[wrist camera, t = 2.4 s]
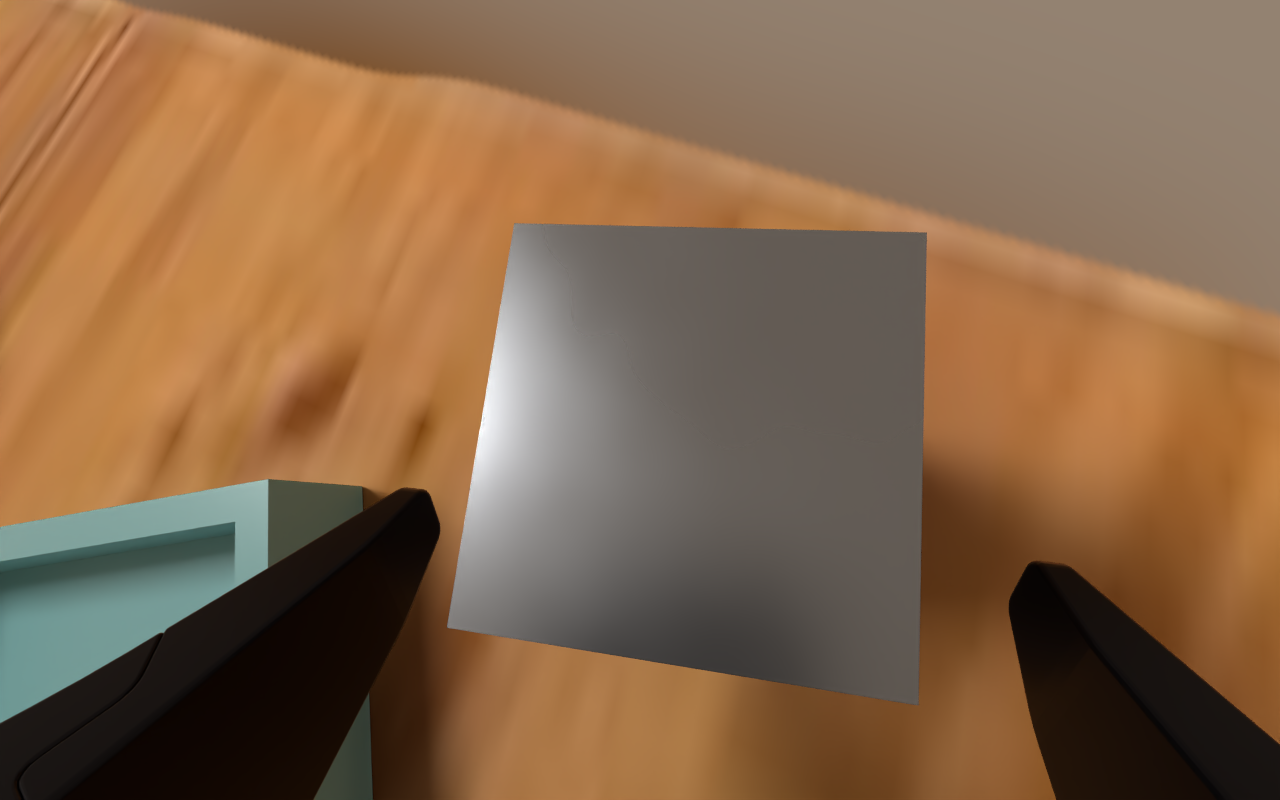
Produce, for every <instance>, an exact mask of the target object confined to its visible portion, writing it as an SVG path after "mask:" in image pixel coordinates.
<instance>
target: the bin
mask: <svg viewBox="0 0 1280 800" xmlns="http://www.w3.org/2000/svg"><path fill="white" fill-rule="evenodd" d="M362 511H363V495H362V486H350V485H337V484H324V483H311V482H298V481H285V480H272V479H267V480H261V481H255V482H250V483H244V484H239V485H233V486H227V487H222V488H216V489H211V490H205V491H199V492H194V493H188V494H183V495H177V496H171V497H166V498H160V499H155V500H149V501H143V502H138V503H132V504H127V505H121V506H115V507H110V508H104V509H99V510H93V511H87V512H82V513H76V514H71V515H65V516H59V517H54V518H48V519H43V520H37V521H31V522H26V523H20V524H15V525H9V526H3V527H0V723H1V722H3V721H5V720H7V719H9V718H11V717H12V716H14V715H16V714H18V713H20V712H22V711H24V710H25V709H27V708H29V707H31V706H33V705H35V704H36V703H38V702H40V701H42V700H44V699H46V698H47V697H49V696H51V695H53V694H55V693H56V692H58V691H60V690H62V689H64V688H66V687H67V686H69V685H71V684H73V683H75V682H76V681H78V680H80V679H82V678H84V677H85V676H87V675H89V674H90V673H92V672H94V671H96V670H97V669H99V668H101V667H103V666H104V665H106V664H108V663H109V662H111V661H113V660H115V659H116V658H118V657H120V656H121V655H123V654H125V653H127V652H128V651H130V650H132V649H133V648H135V647H137V646H138V645H140V644H142V643H143V642H145V641H147V640H148V639H150V638H152V637H153V636H155V635H157V634H158V633H164V632H165V630H166V629H167V628H168V627H170V626H172V625H173V624H175V623H177V622H178V621H180V620H182V619H183V618H185V617H187V616H188V615H190V614H192V613H193V612H195V611H197V610H198V609H200V608H202V607H203V606H205V605H207V604H208V603H210V602H212V601H213V600H215V599H217V598H218V597H220V596H222V595H223V594H225V593H227V592H228V591H230V590H232V589H233V588H235V587H237V586H238V585H240V584H242V583H243V582H245V581H247V580H248V579H250V578H252V577H253V576H255V575H257V574H258V573H260V572H262V571H263V570H265V569H267V568H268V567H270V566H272V565H273V564H275V563H277V562H278V561H280V560H282V559H283V558H285V557H287V556H288V555H290V554H292V553H293V552H295V551H297V550H298V549H300V548H302V547H303V546H305V545H307V544H308V543H310V542H312V541H313V540H315V539H317V538H318V537H320V536H322V535H323V534H325V533H327V532H328V531H330V530H332V529H333V528H335V527H337V526H338V525H340V524H342V523H343V522H345V521H347V520H348V519H350V518H352V517H353V516H355V515H357V514H358V513H360V512H362ZM314 800H373V792H372V762H371V733H370V703H369V694H368V696H367V698H366V700H365V701H364V703H363V705H362V707H361V709H360V711H359V713H358V715H357V717H356V719H355V721H354V723H353V725H352V727H351V729H350V730H349V732H348V734H347V736H346V738H345V740H344V742H343V744H342V746H341V748H340V750H339V752H338V754H337V756H336V758H335V759H334V761H333V763H332V765H331V767H330V769H329V771H328V773H327V775H326V777H325V779H324V781H323V783H322V785H321V787H320V788H319V790H318V792H317V794H316V796H315V798H314Z"/></svg>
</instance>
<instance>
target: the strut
mask: <svg viewBox="0 0 1280 800" xmlns="http://www.w3.org/2000/svg"><path fill="white" fill-rule="evenodd" d="M926 244H927V233H919V232H875V231H830V230H786V229H741V228H696V227H652V226H607V225H562V224H518V223H514V229H513V235H512V241H511V247H510V253H509V259H508V265H507V271H506V277H505V283H504V289H503V295H502V301H501V307H500V313H499V319H498V325H497V331H496V337H495V343H494V349H493V355H492V361H491V367H490V373H489V379H488V385H487V391H486V397H485V403H484V409H483V415H482V421H481V427H480V433H479V439H478V445H477V451H476V457H475V463H474V469H473V475H472V481H471V487H470V493H469V499H468V505H467V511H466V517H465V522H464V528H463V534H462V540H461V546H460V552H459V558H458V564H457V570H456V576H455V582H454V588H453V594H452V600H451V606H450V612H449V618H448V624H447V628H453V629H459V630H465V631H471V632H477V633H483V634H489V635H495V636H501V637H507V638H513V639H519V640H525V641H531V642H537V643H543V644H549V645H555V646H561V647H568V648H574V649H580V650H586V651H592V652H598V653H604V654H610V655H616V656H622V657H628V658H634V659H640V660H646V661H652V662H658V663H664V664H670V665H676V666H683V667H689V668H695V669H701V670H707V671H713V672H719V673H725V674H731V675H737V676H743V677H749V678H755V679H761V680H767V681H773V682H779V683H785V684H791V685H798V686H804V687H810V688H816V689H822V690H828V691H834V692H840V693H846V694H852V695H858V696H864V697H870V698H876V699H882V700H888V701H894V702H900V703H906V704H913V705H919V648H920V590H921V532H922V475H923V417H924V360H925V302H926Z"/></svg>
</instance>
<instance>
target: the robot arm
mask: <svg viewBox="0 0 1280 800" xmlns="http://www.w3.org/2000/svg"><path fill="white" fill-rule="evenodd" d="M439 535H440V523H439V519H438V517H437V514H436V511H435V508H434V505H433V502H432V499H431V496H430V494H429V493H428V492H427V491H426V490H424V489H416V488H407V487H406V488H401V489H399V490H397V491H395V492H393V493H392V494H390V495H388V496H387V497H385V498H383V499H382V500H380V501H378V502H377V503H375V504H373V505H372V506H370V507H368V508H367V509H365V510H363V511H362V512H360V513H358V514H357V515H355V516H353V517H352V518H350V519H348V520H347V521H345V522H343V523H342V524H340V525H338V526H337V527H335V528H333V529H332V530H330V531H328V532H327V533H325V534H323V535H322V536H320V537H318V538H317V539H315V540H313V541H312V542H310V543H308V544H307V545H305V546H303V547H302V548H300V549H298V550H297V551H295V552H293V553H292V554H290V555H288V556H287V557H285V558H283V559H282V560H280V561H278V562H277V563H275V564H273V565H272V566H270V567H268V568H267V569H265V570H263V571H262V572H260V573H258V574H257V575H255V576H253V577H252V578H250V579H248V580H247V581H245V582H243V583H242V584H240V585H238V586H237V587H235V588H233V589H232V590H230V591H228V592H227V593H225V594H223V595H222V596H220V597H218V598H217V599H215V600H213V601H212V602H210V603H208V604H207V605H205V606H203V607H202V608H200V609H198V610H197V611H195V612H193V613H192V614H190V615H188V616H187V617H185V618H183V619H182V620H180V621H178V622H177V623H175V624H173V625H172V626H170V627H168V628H167V629H166V630H165V632H164V633H158V634H157V635H155V636H153V637H152V638H150V639H148V640H147V641H145V642H143V643H142V644H140V645H138V646H137V647H135V648H133V649H132V650H130V651H128V652H127V653H125V654H123V655H121V656H120V657H118V658H116V659H115V660H113V661H111V662H109V663H108V664H106V665H104V666H103V667H101V668H99V669H97V670H96V671H94V672H92V673H90V674H89V675H87V676H85V677H84V678H82V679H80V680H78V681H76V682H75V683H73V684H71V685H69V686H67V687H66V688H64V689H62V690H60V691H58V692H56V693H55V694H53V695H51V696H49V697H47V698H46V699H44V700H42V701H40V702H38V703H36V704H35V705H33V706H31V707H29V708H27V709H25V710H24V711H22V712H20V713H18V714H16V715H14V716H12V717H11V718H9V719H7V720H5V721H3V722H1V723H0V800H314V798H315V796H316V794H317V792H318V790H319V788H320V787H321V785H322V783H323V781H324V779H325V777H326V775H327V773H328V771H329V769H330V767H331V765H332V763H333V761H334V759H335V758H336V756H337V754H338V752H339V750H340V748H341V746H342V744H343V742H344V740H345V738H346V736H347V734H348V732H349V730H350V729H351V727H352V725H353V723H354V721H355V719H356V717H357V715H358V713H359V711H360V709H361V707H362V705H363V703H364V701H365V700H366V698H367V696H368V694H369V692H370V690H371V688H372V686H373V684H374V682H375V680H376V678H377V676H378V674H379V672H380V671H381V669H382V667H383V665H384V663H385V661H386V659H387V657H388V655H389V653H390V651H391V649H392V647H393V645H394V643H395V642H396V640H397V638H398V636H399V634H400V632H401V630H402V627H403V625H404V623H405V621H406V619H407V617H408V614H409V612H410V610H411V607H412V605H413V602H414V600H415V597H416V594H417V592H418V589H419V587H420V584H421V582H422V579H423V577H424V574H425V572H426V569H427V567H428V564H429V562H430V559H431V557H432V554H433V551H434V549H435V546H436V544H437V541H438V539H439ZM1009 616H1010V621H1011V626H1012V631H1013V635H1014V640H1015V645H1016V650H1017V655H1018V659H1019V664H1020V669H1021V674H1022V679H1023V684H1024V688H1025V693H1026V698H1027V703H1028V708H1029V712H1030V716H1031V720H1032V724H1033V728H1034V731H1035V735H1036V738H1037V741H1038V745H1039V748H1040V751H1041V754H1042V757H1043V760H1044V763H1045V766H1046V769H1047V772H1048V776H1049V779H1050V782H1051V785H1052V788H1053V791H1054V794H1055V797H1056V800H1280V744H1279V743H1278V742H1276V741H1275V740H1274V739H1273V738H1272V737H1270V736H1269V735H1268V734H1267V733H1266V732H1265V731H1263V730H1262V729H1261V728H1260V727H1259V726H1258V725H1256V724H1255V723H1254V722H1253V721H1252V720H1250V719H1249V718H1248V717H1247V716H1246V715H1245V714H1243V713H1242V712H1241V711H1240V710H1239V709H1237V708H1236V707H1235V706H1234V705H1233V704H1232V703H1230V702H1229V701H1228V700H1227V699H1226V698H1225V697H1223V696H1222V695H1221V694H1220V693H1219V692H1217V691H1216V690H1215V689H1214V688H1213V687H1212V686H1210V685H1209V684H1208V683H1207V682H1206V681H1205V680H1203V679H1202V678H1201V677H1200V676H1199V675H1197V674H1196V673H1195V672H1194V671H1193V670H1192V669H1190V668H1189V667H1188V666H1187V665H1186V664H1184V663H1183V662H1182V661H1181V660H1180V659H1179V658H1177V657H1176V656H1175V655H1174V654H1173V653H1172V652H1170V651H1169V650H1168V649H1167V648H1166V647H1164V646H1163V645H1162V644H1161V643H1160V642H1159V641H1157V640H1156V639H1155V638H1154V637H1153V636H1151V635H1150V634H1149V633H1148V632H1147V631H1146V630H1144V629H1143V628H1142V627H1141V626H1140V625H1139V624H1137V623H1136V622H1135V621H1134V620H1133V619H1131V618H1130V617H1129V616H1128V615H1127V614H1126V613H1124V612H1123V611H1122V610H1121V609H1120V608H1119V607H1117V606H1116V605H1115V604H1114V603H1113V602H1111V601H1110V600H1109V599H1108V598H1107V597H1106V596H1104V595H1103V594H1102V593H1101V592H1100V591H1098V590H1097V589H1096V588H1095V587H1094V586H1093V585H1091V584H1090V583H1089V582H1088V581H1087V580H1086V579H1084V578H1083V577H1082V576H1081V575H1080V574H1078V573H1077V572H1076V571H1075V570H1074V569H1072V568H1071V567H1069V566H1067V565H1065V564H1060V563H1052V562H1044V561H1033V562H1031V563H1029V564H1028V565H1027V567H1026V569H1025V570H1024V572H1023V574H1022V576H1021V578H1020V580H1019V582H1018V583H1017V585H1016V587H1015V589H1014V591H1013V593H1012V595H1011V597H1010V600H1009Z"/></svg>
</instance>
